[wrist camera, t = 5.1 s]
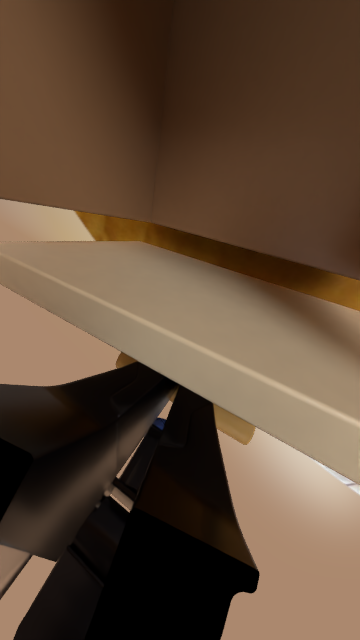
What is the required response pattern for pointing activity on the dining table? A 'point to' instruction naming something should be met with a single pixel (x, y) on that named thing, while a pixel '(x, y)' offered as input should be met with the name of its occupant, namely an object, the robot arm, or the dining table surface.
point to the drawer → (197, 194)
